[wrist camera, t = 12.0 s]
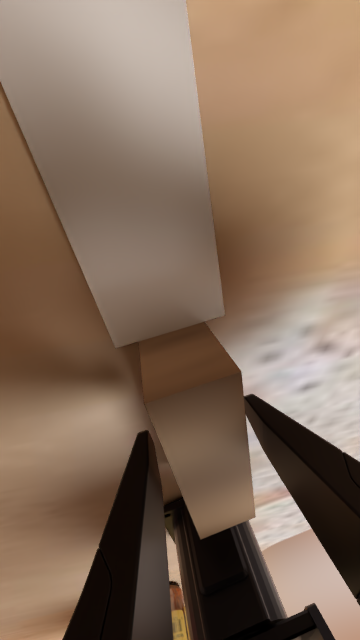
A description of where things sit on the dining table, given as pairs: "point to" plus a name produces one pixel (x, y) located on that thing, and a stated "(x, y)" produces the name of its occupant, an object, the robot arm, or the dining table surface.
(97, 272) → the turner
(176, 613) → the sauce bottle
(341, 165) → the dining table surface
